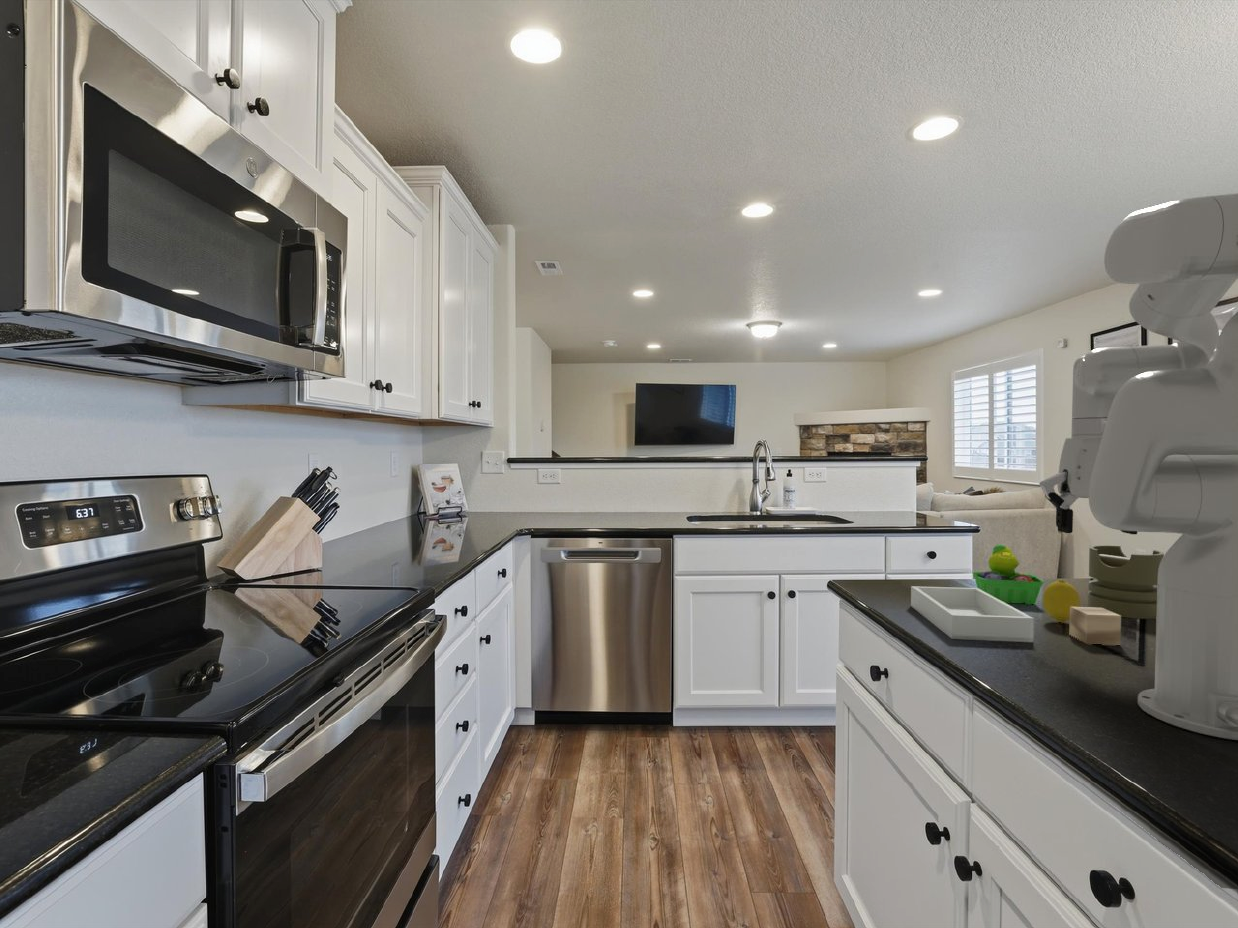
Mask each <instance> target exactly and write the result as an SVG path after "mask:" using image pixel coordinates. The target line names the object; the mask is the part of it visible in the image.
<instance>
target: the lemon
mask: <svg viewBox="0 0 1238 928" xmlns="http://www.w3.org/2000/svg"><path fill="white" fill-rule="evenodd" d="M1080 599H1081V598H1080V596H1079V592H1078V590H1077V589H1076V588H1075V586H1073V585H1072V584H1070V583H1069V582H1066V580H1064V579H1059V580H1058V581H1057V580H1056V581H1054V582H1053V581H1052V582H1051V583H1049V584H1048V585H1047V586H1046V588H1044V592H1043V595H1042V603H1043V607H1044V609H1045V612H1046V613H1047V615H1049V616H1050V617H1052V618H1053V619H1055V620H1056V621H1057V622H1058V623H1059V622H1061V623H1060V624H1063V623H1064V622H1066V621H1068V620H1069V621H1070V607H1081V600H1080Z"/></svg>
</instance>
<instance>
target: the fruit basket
mask: <svg viewBox="0 0 1238 928" xmlns="http://www.w3.org/2000/svg"><path fill="white" fill-rule="evenodd" d="M1019 563H1020V562H1019V559H1018V558H1017V556H1016V555H1014V553H1013V551H1012V550H1011V548H1009V547H1007V546H1006V545H1004V544H997V545H995V546H994V547H993V549H992V553H991V555H990V556H989V559H988V567H989V568H990V570H988V571H982V572H981V571H975V572H972V576H973V578H974V580H975V583H976V588H979V589H980V590H982V591H984V592H986V593H988V594H990V595H992V596H993V597H995V598H997V599H999V600H1001V601H1003V602H1005V603H1006V604H1013V603H1025V604H1024V605H1030V604H1035V605H1036V602H1037V600H1038V596H1039V593H1040V590H1041V588H1042V586H1043V584H1044V581H1043V580H1041V578H1038V577H1037V576H1035V575H1034V574H1027V573H1020V572H1016V571H1015V569H1017V567H1019Z"/></svg>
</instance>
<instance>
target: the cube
mask: <svg viewBox="0 0 1238 928" xmlns="http://www.w3.org/2000/svg"><path fill="white" fill-rule="evenodd" d="M1121 628H1122V617H1121V615H1118V614H1116V613H1113V612H1111V611H1109V610H1106V609H1104V608H1096V607H1088V606H1080V607H1070V619H1069V630H1068V633H1069V634H1068V636H1070V635H1071V636H1070V637H1072V636H1073V637H1072V638H1074V637H1075V638H1074V639H1076V638H1077V639H1076V640H1078V639H1079V640H1078V641H1080V642H1081V641H1083V642H1084V643H1083V642H1082V643H1083V644H1085V643H1086V645H1092V644H1102V645H1101V646H1116V645H1120V646H1121V635H1122V634H1121V633H1122V629H1121Z"/></svg>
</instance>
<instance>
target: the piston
mask: <svg viewBox="0 0 1238 928" xmlns="http://www.w3.org/2000/svg"><path fill="white" fill-rule="evenodd" d="M1164 555H1165V554H1164V551H1163V552H1162V551H1159V550H1157V549H1155V550H1154V549H1153V550H1152V554H1138V553H1137V554H1136V553H1134V554H1130V557H1127V556H1126V555H1125V554H1124V553H1123V551H1122V547H1121V545H1107V544H1105V545H1100V544H1099V545H1091V546H1089V554H1088V556H1089V558H1088V559H1089V560H1088V561H1089V562H1088V577H1090V578H1093V579H1092V580H1089V581H1088V590H1089V591H1088V595H1087V596H1088V597H1087V601H1088V602H1087V607H1096V608H1104V609H1106V610H1109V611H1111V612H1113V613H1116V614H1118V615H1121V618H1129V619H1141V620H1142V619H1144V620H1153V619H1155V620H1156V616H1157V585H1158V569H1159V565H1160V562H1161V560H1162V558H1163V556H1164Z"/></svg>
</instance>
